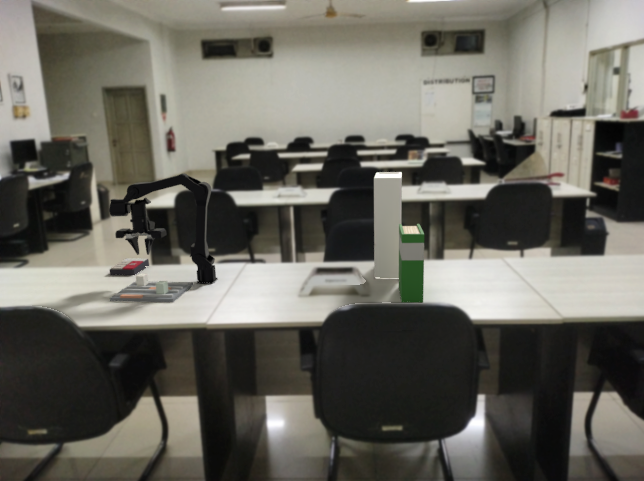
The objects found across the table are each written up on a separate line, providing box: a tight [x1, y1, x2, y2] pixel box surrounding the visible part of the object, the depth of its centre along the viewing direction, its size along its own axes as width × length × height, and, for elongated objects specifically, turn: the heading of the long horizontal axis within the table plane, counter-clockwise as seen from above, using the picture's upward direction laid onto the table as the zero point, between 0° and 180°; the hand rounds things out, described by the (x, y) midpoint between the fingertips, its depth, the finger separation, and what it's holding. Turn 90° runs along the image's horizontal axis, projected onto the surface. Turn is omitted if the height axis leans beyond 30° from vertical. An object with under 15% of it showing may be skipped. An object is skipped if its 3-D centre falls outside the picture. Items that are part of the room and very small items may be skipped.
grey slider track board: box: [109, 280, 194, 303], centre depth 199 cm, size 24×20×2 cm
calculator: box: [109, 257, 150, 276], centre depth 231 cm, size 11×4×15 cm
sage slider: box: [156, 280, 169, 294], centre depth 193 cm, size 3×4×4 cm
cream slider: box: [135, 273, 149, 286], centre depth 204 cm, size 3×4×4 cm
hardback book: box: [398, 223, 425, 303], centre depth 188 cm, size 18×7×24 cm, turn 175°
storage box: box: [373, 171, 403, 278], centre depth 214 cm, size 21×10×40 cm, turn 172°
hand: (143, 254), depth 209 cm, fingers open, 4 cm apart
